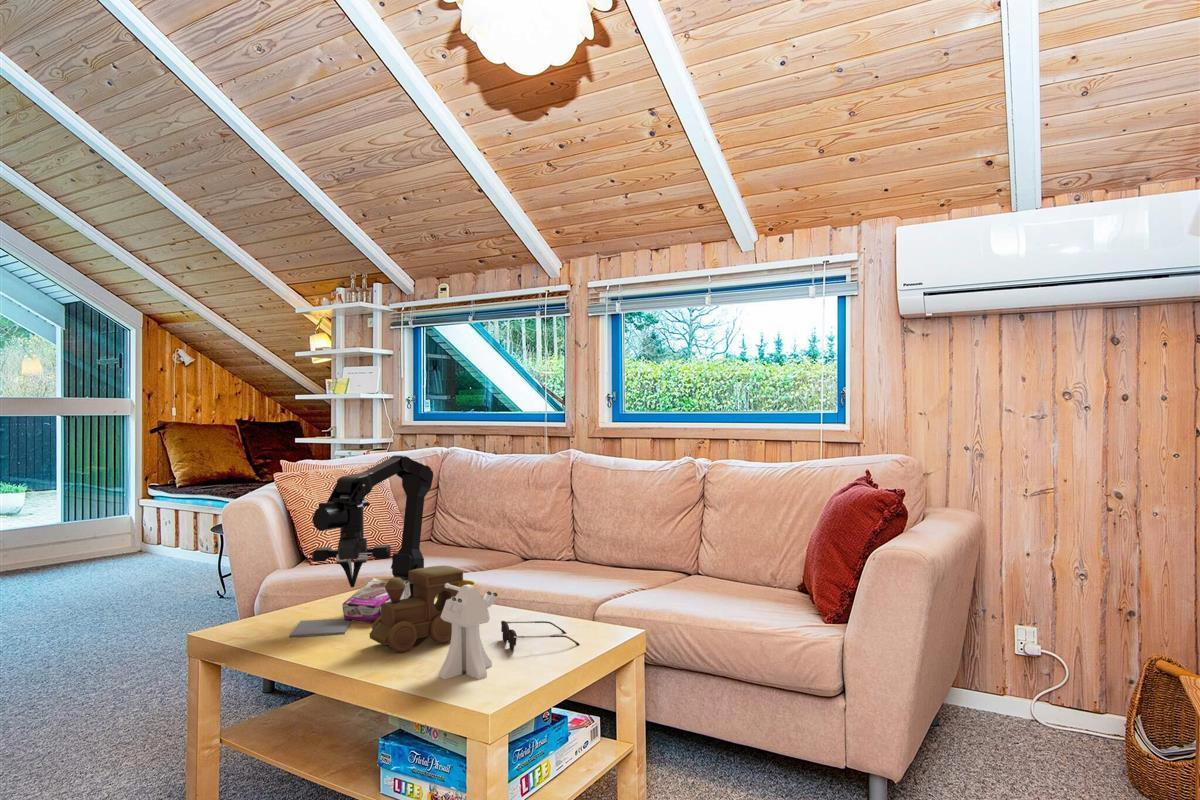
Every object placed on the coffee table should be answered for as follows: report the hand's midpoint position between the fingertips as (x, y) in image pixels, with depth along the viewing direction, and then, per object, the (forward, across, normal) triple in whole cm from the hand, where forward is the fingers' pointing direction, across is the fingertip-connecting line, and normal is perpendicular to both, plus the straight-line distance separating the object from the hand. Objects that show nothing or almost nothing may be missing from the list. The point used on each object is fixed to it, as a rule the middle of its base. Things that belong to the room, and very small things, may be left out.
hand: (352, 587), depth 204 cm
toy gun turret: (+10, +28, -42) cm, 51 cm away
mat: (+10, -8, 0) cm, 12 cm away
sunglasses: (+11, +46, -25) cm, 53 cm away
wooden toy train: (+10, +17, -19) cm, 27 cm away
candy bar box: (+7, +2, +1) cm, 8 cm away
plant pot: (+10, +26, -1) cm, 28 cm away
